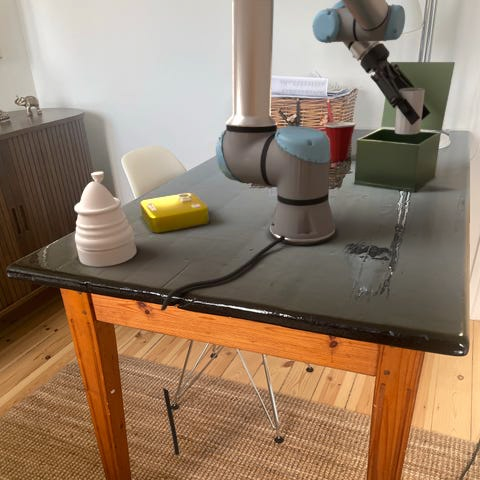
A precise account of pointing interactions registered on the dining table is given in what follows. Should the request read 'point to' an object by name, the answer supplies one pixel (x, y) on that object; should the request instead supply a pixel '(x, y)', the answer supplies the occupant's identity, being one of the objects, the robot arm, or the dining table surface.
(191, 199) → the yellow box
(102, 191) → the honey pot
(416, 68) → the lid
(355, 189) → the dining table surface
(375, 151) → the green open box
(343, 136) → the plastic cup
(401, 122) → the tumbler
